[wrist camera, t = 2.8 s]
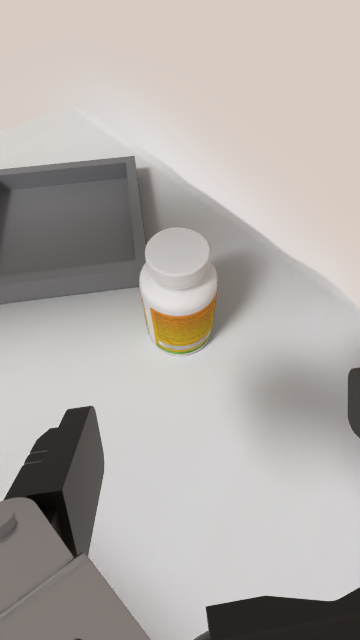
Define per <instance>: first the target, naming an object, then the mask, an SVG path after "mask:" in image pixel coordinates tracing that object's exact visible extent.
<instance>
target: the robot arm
mask: <svg viewBox="0 0 360 640" xmlns="http://www.w3.org/2000/svg"><path fill="white" fill-rule="evenodd" d="M348 419H349V423H350V426H351V428H352V430H353V431H354V433H355V434H356V435H357V436H358V437H359V438H360V368H354V369H351V370H350V372H349V375H348ZM103 474H104V454H103V448H102V443H101V437H100V432H99V427H98V422H97V417H96V412H95V409H94V407H93V406H87V407H80V408H73V409H68V410H67V411H66V413H65V415H64V417H63V419H62V421H61V423H60V425H59V427H58V428H51V429H49V430H48V431H47V432H46V433H44V434H43V435H42V436H41V437H40V438H39V439H38V440H37V441H36V443H35V444H34V446H33V448H32V450H31V452H30V455H28V457H27V459H26V461H25V462H24V466H22V468H21V470H20V471H19V473H18V475H17V477H16V479H15V480H14V482H13V484H12V486H11V488H10V489H9V491H8V493H7V495H6V497H5V498H4V500H3V501H1V502H0V640H150V638H149V637H148V636H147V634H146V633H145V632H144V630H143V629H142V628H141V626H140V625H139V624H138V622H137V621H136V620H135V618H134V617H133V616H132V614H131V613H130V612H129V610H128V609H127V608H126V606H125V605H124V604H123V602H122V601H121V600H120V598H119V597H118V596H117V594H116V593H115V592H114V591H113V589H112V588H111V587H110V585H109V584H108V583H107V581H106V580H105V579H104V577H103V576H102V575H101V573H100V572H99V571H98V569H97V568H96V567H95V565H94V564H93V563H92V561H91V560H90V559H89V558H88V552H89V547H90V542H91V537H92V532H93V526H94V521H95V516H96V511H97V505H98V500H99V495H100V490H101V485H102V479H103ZM206 612H207V621H208V629H209V631H207V632H205V633H204V634H202V635H200V636H198V637H197V638H195V639H194V640H360V588H358V589H356V590H355V591H353V592H351V593H349V594H347V595H346V596H344V597H342V598H340V599H338V600H336V601H318V600H307V599H296V598H284V597H273V596H261V597H256V598H250V599H245V600H240V601H234V602H229V603H223V604H218V605H212V606H207V607H206Z"/></svg>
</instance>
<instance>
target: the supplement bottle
mask: <svg viewBox="0 0 360 640" xmlns="http://www.w3.org/2000/svg"><path fill="white" fill-rule="evenodd" d="M145 259H146V263H145V264H144V266H143V268H142V270H141V273H140V278H139V286H140V293H141V297H142V303H143V308H144V313H145V318H146V324H147V329H148V333H149V336H150V338H151V340H152V342H153V344H154V345H155V346H156V347H157V348H158V349H160V350H161V351H163V352H165V353H167V354H170V355H174V356H186V355H190V354H193V353H195V352H197V351H199V350H200V349H202V348H203V347H204V346H205V345H206V343H207V342H208V340H209V338H210V336H211V332H212V326H213V318H214V310H215V302H216V295H217V286H218V277H217V272H216V269H215V267H214V265H213V264H212V262H211V261H210V247H209V244H208V242H207V240H206V239H205V238H204V237H203V236H202V235H201V234H199V233H198V232H196V231H194V230H191V229H188V228H182V227H173V228H168V229H164V230H162V231H160V232H158V233H156V234H155V235H154V236H152V238H151V239H150V240H149V241H148V243H147V245H146V248H145Z"/></svg>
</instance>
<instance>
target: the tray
mask: <svg viewBox="0 0 360 640" xmlns="http://www.w3.org/2000/svg"><path fill="white" fill-rule="evenodd" d="M145 248H146V242H145V234H144V226H143V218H142V210H141V202H140V194H139V186H138V178H137V171H136V164H135V157H134V156H130V157H120V158H110V159H100V160H90V161H80V162H70V163H60V164H51V165H41V166H31V167H21V168H11V169H1V170H0V304H3V303H11V302H19V301H27V300H35V299H43V298H51V297H59V296H67V295H75V294H83V293H91V292H99V291H107V290H115V289H123V288H131V287H139V278H140V273H141V270H142V268H143V266H144V264H145V263H146V259H145Z"/></svg>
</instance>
